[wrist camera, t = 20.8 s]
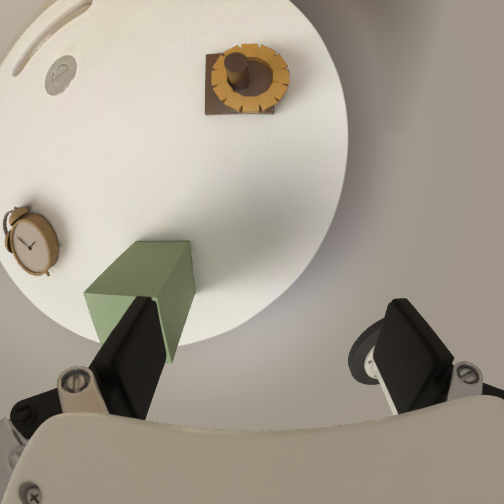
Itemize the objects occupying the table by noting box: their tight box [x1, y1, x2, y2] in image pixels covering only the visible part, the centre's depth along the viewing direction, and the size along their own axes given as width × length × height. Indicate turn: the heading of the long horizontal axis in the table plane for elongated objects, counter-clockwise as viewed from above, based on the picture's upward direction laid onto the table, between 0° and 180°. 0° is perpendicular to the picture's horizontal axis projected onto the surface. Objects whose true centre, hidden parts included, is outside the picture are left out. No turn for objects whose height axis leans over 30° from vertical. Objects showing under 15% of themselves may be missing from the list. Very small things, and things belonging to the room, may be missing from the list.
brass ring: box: [212, 44, 289, 113], centre depth 29 cm, size 10×10×2 cm
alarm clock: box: [3, 207, 59, 276], centre depth 37 cm, size 11×5×15 cm
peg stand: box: [205, 52, 274, 115], centre depth 27 cm, size 9×9×10 cm
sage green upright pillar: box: [84, 241, 195, 363], centre depth 34 cm, size 9×9×16 cm
